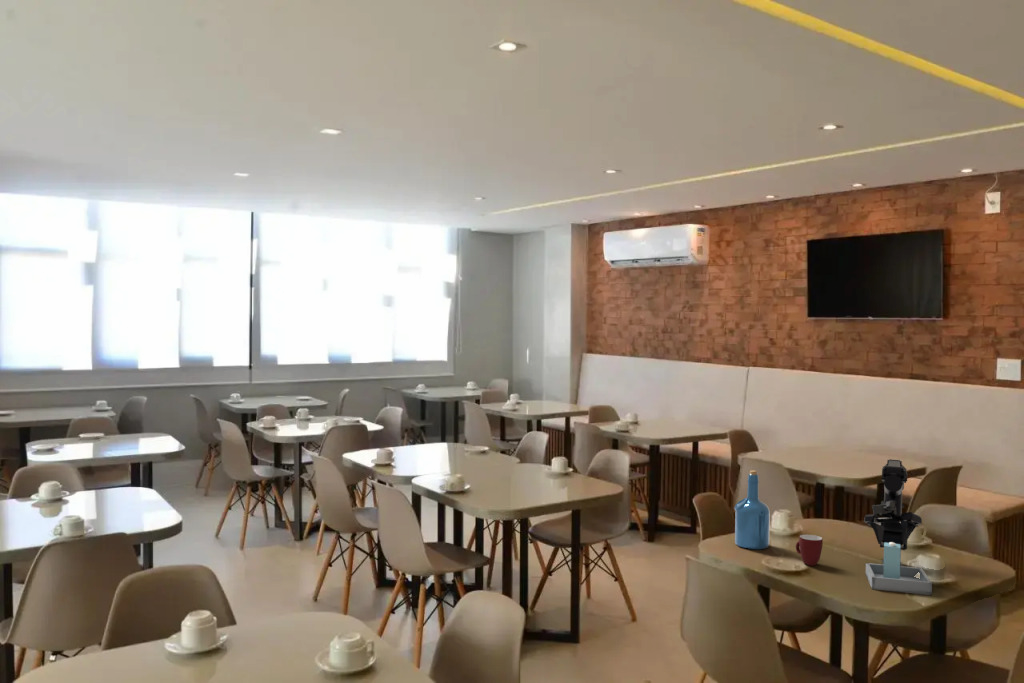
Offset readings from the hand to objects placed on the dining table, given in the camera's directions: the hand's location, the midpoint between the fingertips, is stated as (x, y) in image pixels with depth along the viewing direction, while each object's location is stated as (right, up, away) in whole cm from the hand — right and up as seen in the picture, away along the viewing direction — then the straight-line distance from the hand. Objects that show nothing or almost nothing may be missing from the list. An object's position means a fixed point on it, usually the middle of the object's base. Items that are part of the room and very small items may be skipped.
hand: (891, 543), depth 275 cm
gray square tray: (-1, -12, -5) cm, 14 cm away
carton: (-3, -11, -6) cm, 13 cm away
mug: (-23, -12, +17) cm, 31 cm away
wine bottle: (-37, -11, +40) cm, 56 cm away
